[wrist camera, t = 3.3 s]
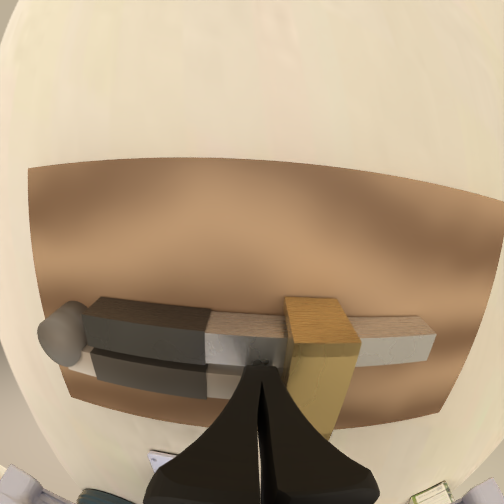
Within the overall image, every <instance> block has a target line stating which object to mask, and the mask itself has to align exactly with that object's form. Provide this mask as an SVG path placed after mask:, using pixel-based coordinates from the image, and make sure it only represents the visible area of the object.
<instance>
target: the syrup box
mask: <svg viewBox="0 0 504 504" xmlns="http://www.w3.org/2000/svg"><path fill="white" fill-rule="evenodd" d="M454 501H455V500H454V498H453V495H452V493H451V491H450V489H449V487H448V485H447V482H446V481H444V482H442V483H440V484H438V485H436V486H434V487H431V488H429V489H427V490H425V491H423V492H421V493H419V494H417V495H414V496H412V497H411V499H410V502H409V504H450V503H452V502H454Z"/></svg>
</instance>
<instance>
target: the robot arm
mask: <svg viewBox="0 0 504 504" xmlns="http://www.w3.org/2000/svg"><path fill="white" fill-rule="evenodd" d="M257 427H258V436H257ZM258 438H259V448H260V458H261V498H260V484H259V466H258ZM148 458H149V461H150V463H151V466H152V468H153V471H154V473H155V474H154V475H153V477H152V479H151V481H150V483H149V485H148V487H147V489H146V493H145V496H144V500H143V504H374V503H375V502H376V500H377V499H378V497H379V496H380V491H379V488H378V485H377V482H376V480H375V478H374V476H373V474H372V472H371V471H370V470H369V469H367V468H365V467H364V466H362V465H360V464H358V463H357V462H355V461H353V460H352V459H350V458H349V457H347V456H346V455H345V454H343V453H342V452H340V451H339V450H338V449H337V448H336V447H334V446H333V445H332V444H331V443H330V442H329V441H327V440H326V439H325V438H324V437H323V436H322V435H321V434H320V433H319V432H318V431H317V430H316V429H315V428H314V427H313V425H312V424H311V423H310V422H309V421H308V420H307V418H306V417H305V416H304V415H303V413H302V412H301V410H300V409H299V408H298V406H297V405H296V403H295V402H294V400H293V398H292V397H291V395H290V394H289V392H288V390H287V388H286V386H285V385H284V383H283V381H282V378H281V376H280V374H279V371H278V368H277V367H276V366H256V365H246V366H245V367H244V369H243V373H242V376H241V379H240V381H239V383H238V385H237V387H236V389H235V391H234V393H233V395H232V397H231V398H230V400H229V401H228V403H227V404H226V406H225V407H224V409H223V410H222V412H221V413H220V415H219V416H218V417H217V418H216V420H215V421H214V422H213V423H212V424H211V426H210V427H209V428H208V429H207V430H206V431H205V432H204V433H203V434H202V435H201V436H200V437H199V438H198V439H197V440H196V441H195V442H194V443H192V444H191V445H190V446H189V447H187V448H186V449H185V450H184V451H183V452H181V453H180V454H179V455H177V456H176V455H171V454H165V453H160V452H155V451H149V452H148ZM0 504H75V503H73V502H71V501H68V500H66V499H64V498H62V497H60V496H58V495H56V494H54V493H52V492H50V491H48V490H46V489H44V488H43V487H42V486H41V484H40V483H39V482H38V481H37V480H36V479H35V478H33V477H32V476H31V475H29V474H27V473H26V472H24V471H22V470H21V469H19V468H18V467H16V466H14V465H13V464H10V466H9V467H8V469H7V470H6V472H5V474H4V475H3V477H2V478H1V480H0ZM450 504H504V497H503V495H502V493H501V491H500V489H499V487H498V485H497V484H496V482H495V480H494V478H493V477H491V478H489V479H487V480H486V481H484V482H482V483H480V484H479V485H477V486H475V487H473V488H472V489H470V490H469V491H468V492H467V493H466V494H465V495H464V496H463V497H462V498H460V499H458V500H456V501H454V502H452V503H450Z"/></svg>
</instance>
